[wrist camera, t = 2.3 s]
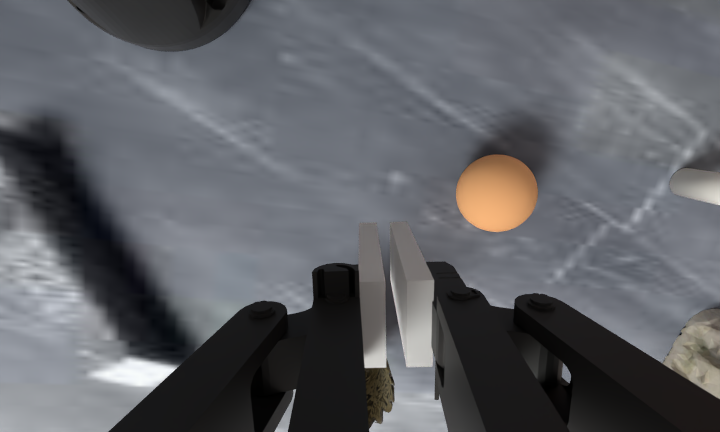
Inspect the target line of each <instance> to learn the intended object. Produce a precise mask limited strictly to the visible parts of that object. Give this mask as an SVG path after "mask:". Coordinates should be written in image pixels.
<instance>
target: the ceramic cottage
mask: <svg viewBox="0 0 720 432" xmlns="http://www.w3.org/2000/svg"><path fill="white" fill-rule="evenodd" d="M685 326H686V327H685V328H683V329H682V330H681V332H682V334H681V335H679V336H678V338H677V339H676V341H675V342H674V344H673V347H672V349H671V350H670V352H669V355H668V356H666V357H665V361H664V362H663V364H664V365H665V366H667V367H669V368H670V369H672V370H673V371H675V372H677V373H678V374H680V375H681V376H683V377H685V378H686V379H688V380H690V381H691V382H693V383H694V384H696V385H698V386H699V387H701V388H702V389H704V390H706V391H707V392H709V393H710V394H712V395H714V396H715V397H717V398H719V399H720V309H709V310H704V311H702V312H700V313H698V314H696V315H694V316H693V317H692V318H690V320H689V321H688V322H687V323H686V325H685Z"/></svg>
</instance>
